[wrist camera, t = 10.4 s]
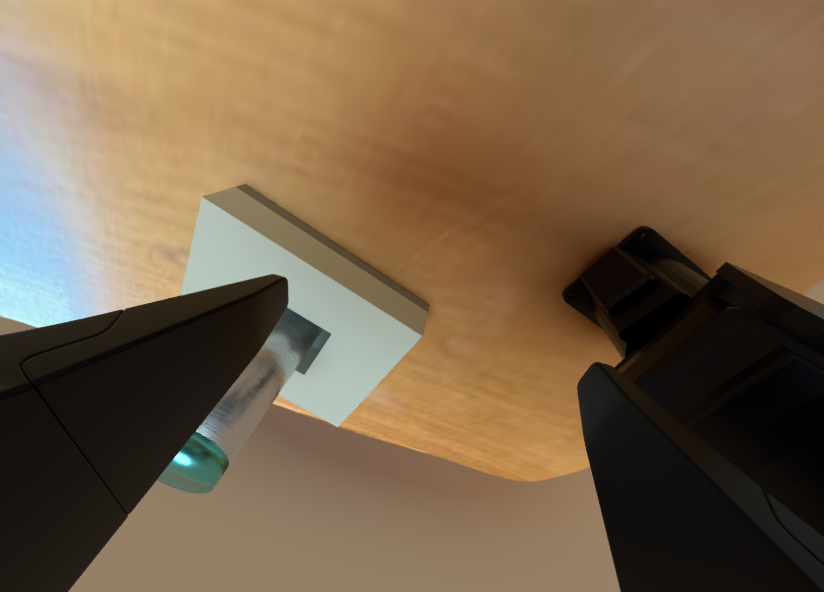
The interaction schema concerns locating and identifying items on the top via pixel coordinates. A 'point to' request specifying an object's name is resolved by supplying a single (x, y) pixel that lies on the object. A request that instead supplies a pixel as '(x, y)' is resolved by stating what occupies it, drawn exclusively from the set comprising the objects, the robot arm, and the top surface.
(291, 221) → the socket block
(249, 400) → the pin
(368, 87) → the top surface
